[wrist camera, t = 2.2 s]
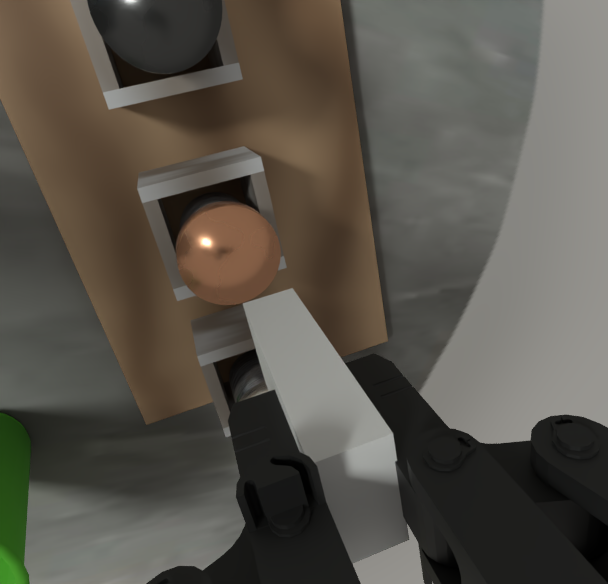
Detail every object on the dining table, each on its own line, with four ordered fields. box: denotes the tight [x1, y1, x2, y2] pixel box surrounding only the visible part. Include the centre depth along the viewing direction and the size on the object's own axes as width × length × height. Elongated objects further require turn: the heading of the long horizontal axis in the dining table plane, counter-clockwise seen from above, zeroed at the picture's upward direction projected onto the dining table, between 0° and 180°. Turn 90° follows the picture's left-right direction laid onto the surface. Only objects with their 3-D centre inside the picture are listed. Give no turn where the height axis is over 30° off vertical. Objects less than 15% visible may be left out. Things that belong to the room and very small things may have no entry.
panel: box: [0, 0, 388, 437], centre depth 27 cm, size 18×26×6 cm
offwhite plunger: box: [229, 349, 269, 403], centre depth 27 cm, size 4×4×5 cm
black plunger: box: [87, 0, 222, 74], centre depth 18 cm, size 4×4×5 cm
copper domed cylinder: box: [176, 192, 281, 305], centre depth 23 cm, size 4×4×5 cm
